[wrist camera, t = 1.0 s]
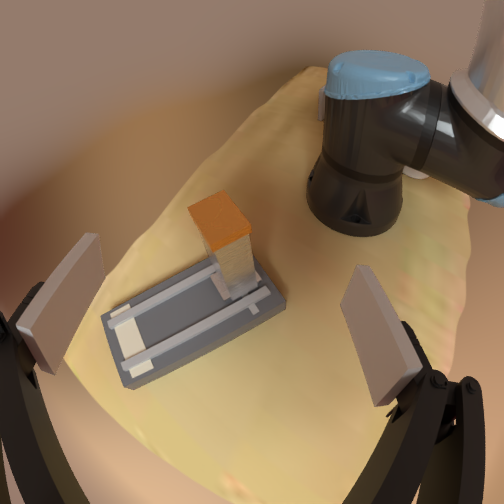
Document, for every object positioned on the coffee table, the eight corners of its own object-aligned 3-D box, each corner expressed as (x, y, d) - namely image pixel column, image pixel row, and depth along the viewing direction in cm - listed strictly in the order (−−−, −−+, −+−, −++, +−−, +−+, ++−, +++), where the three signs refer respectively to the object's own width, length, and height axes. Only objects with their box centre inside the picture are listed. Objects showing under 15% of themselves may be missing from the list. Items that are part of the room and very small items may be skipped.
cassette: (333, 100, 61) (335, 73, 54) (340, 102, 60) (343, 75, 54) (315, 120, 56) (316, 89, 49) (323, 122, 55) (325, 91, 49)
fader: (243, 254, 34) (229, 187, 25) (264, 284, 32) (257, 221, 23) (208, 273, 33) (181, 210, 24) (227, 305, 31) (203, 249, 22)
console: (244, 250, 38) (241, 237, 36) (285, 309, 33) (285, 298, 31) (109, 322, 34) (98, 314, 32) (133, 389, 29) (121, 386, 26)
